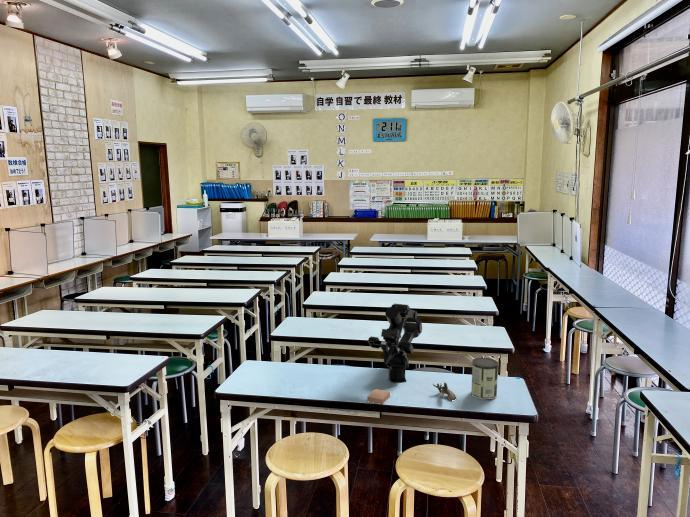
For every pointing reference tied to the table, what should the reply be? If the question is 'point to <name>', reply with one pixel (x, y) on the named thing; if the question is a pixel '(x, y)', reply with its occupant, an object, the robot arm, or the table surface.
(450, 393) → the antlered deer figurine
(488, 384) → the coffee can
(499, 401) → the table surface
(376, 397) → the glazed tile
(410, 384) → the table surface
